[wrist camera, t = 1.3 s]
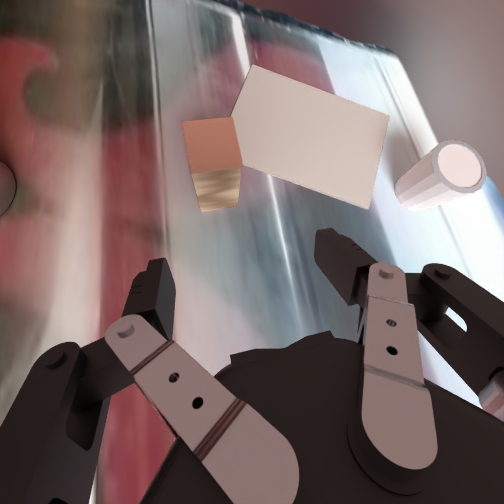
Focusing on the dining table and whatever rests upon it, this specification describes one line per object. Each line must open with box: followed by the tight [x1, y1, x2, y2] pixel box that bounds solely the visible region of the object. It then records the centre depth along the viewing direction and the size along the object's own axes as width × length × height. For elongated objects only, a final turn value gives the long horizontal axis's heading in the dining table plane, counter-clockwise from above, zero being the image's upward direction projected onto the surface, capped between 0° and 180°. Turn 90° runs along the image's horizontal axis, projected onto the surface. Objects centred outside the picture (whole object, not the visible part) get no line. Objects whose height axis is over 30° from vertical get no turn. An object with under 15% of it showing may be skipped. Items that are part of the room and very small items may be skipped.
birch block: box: [181, 117, 243, 212], centre depth 26 cm, size 5×5×10 cm
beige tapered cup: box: [395, 140, 486, 211], centre depth 30 cm, size 7×7×7 cm
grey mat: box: [230, 64, 389, 210], centre depth 34 cm, size 22×16×1 cm
